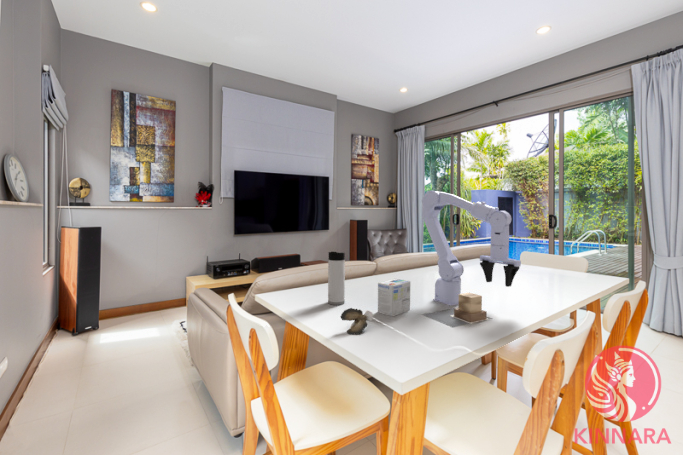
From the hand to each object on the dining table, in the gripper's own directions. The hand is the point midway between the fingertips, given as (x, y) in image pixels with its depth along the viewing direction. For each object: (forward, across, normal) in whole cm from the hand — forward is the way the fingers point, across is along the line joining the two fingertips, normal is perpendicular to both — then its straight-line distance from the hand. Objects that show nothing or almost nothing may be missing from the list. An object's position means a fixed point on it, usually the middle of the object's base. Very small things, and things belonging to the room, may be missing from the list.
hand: (498, 284), depth 114 cm
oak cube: (+7, +1, -15) cm, 17 cm away
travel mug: (+10, -35, -46) cm, 59 cm away
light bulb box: (+10, -16, -33) cm, 38 cm away
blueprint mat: (+10, -2, -18) cm, 21 cm away
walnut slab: (+10, +1, -15) cm, 18 cm away
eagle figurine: (+10, -8, -53) cm, 54 cm away
